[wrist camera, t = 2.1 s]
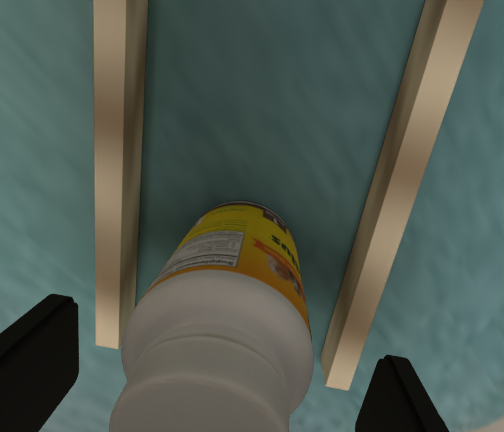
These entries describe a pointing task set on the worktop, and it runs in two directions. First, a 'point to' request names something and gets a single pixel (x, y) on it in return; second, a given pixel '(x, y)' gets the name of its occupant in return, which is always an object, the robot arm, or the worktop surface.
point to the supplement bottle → (220, 331)
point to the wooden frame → (378, 201)
